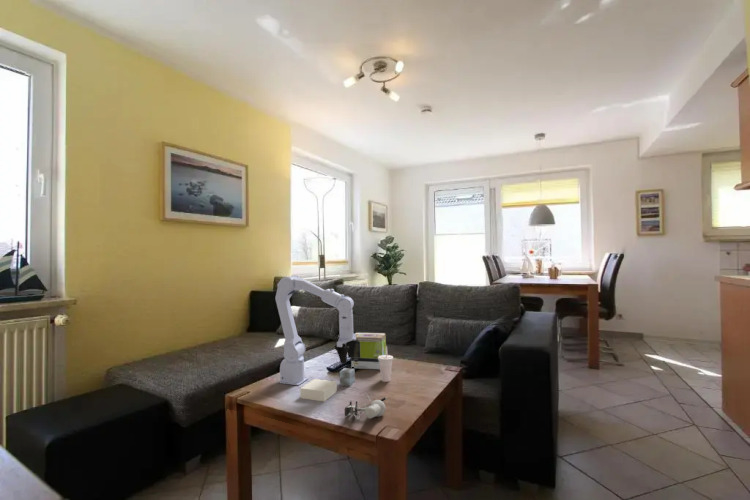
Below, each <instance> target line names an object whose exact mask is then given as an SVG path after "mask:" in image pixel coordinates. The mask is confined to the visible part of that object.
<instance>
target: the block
mask: <svg viewBox="0 0 750 500" xmlns="http://www.w3.org/2000/svg"><path fill="white" fill-rule="evenodd" d="M355 370H356V368H347V367H344V368H343V369H341V370H340V371H339V385H340V386H345V387H351V386H352V385H353V384H355V382H356V381H355V380H356V379H355V378H356V377H355V376H356V373H355Z"/></svg>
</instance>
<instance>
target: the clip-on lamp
mask: <svg viewBox="0 0 750 500" xmlns="http://www.w3.org/2000/svg"><path fill="white" fill-rule="evenodd" d="M364 393H365V395H366V397H367V399H368V401H369V402H370V405H368V404H367V403H365V404H364V406H363V407H358V400H356V401H355V405H353V403H352V400H350V401H349V404H348V405H347V406H345V408H344V417H348V416H354V417H355V419H356V420H358V421H359V420H361V416H360V415H361V414H362V413H363V412H364V416H365V417H366V418H367V419H373V418H376V417H377V418H378V417H380V418H381V417H382V416H383V415H384V414H385V412H386V404H385V403H384V401H386V400H387V399H388V398H389V397H383V398H381V399H375V400H372V398H370V395H368V394H367V392H364ZM357 416H358V417H357Z"/></svg>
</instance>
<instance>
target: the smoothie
mask: <svg viewBox="0 0 750 500" xmlns="http://www.w3.org/2000/svg"><path fill="white" fill-rule="evenodd" d="M378 360H379V365H380V369H379V371H380V378H381V382H384V383H386V382H387V383H388V382H390V381H391V376H392V368H393V360H394V356H393V355H390V354H388V346H387V345H386V355H380V356H379V357H378Z"/></svg>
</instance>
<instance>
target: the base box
mask: <svg viewBox="0 0 750 500" xmlns="http://www.w3.org/2000/svg"><path fill="white" fill-rule="evenodd" d="M337 390H338V381H334V380H327V379H326V380H325V379H319V378H313V379H311V380H310V381H308V382H307V383H306V384H304V385H303V386H302V387H300V399H304V400H305V399H306V400H311V401H317V402H326V401H327V400H328V399H329V398H330V397H332V396H333V395H335V393H336V392H337Z"/></svg>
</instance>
